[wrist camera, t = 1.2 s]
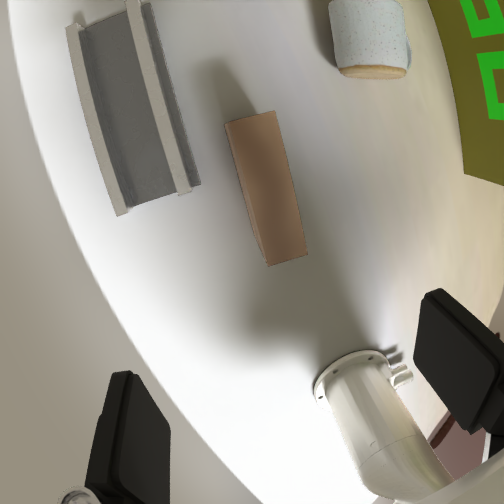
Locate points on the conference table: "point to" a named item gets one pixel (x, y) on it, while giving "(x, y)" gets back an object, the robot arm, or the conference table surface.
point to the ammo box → (476, 79)
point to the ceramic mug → (370, 38)
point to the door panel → (267, 186)
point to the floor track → (131, 108)
